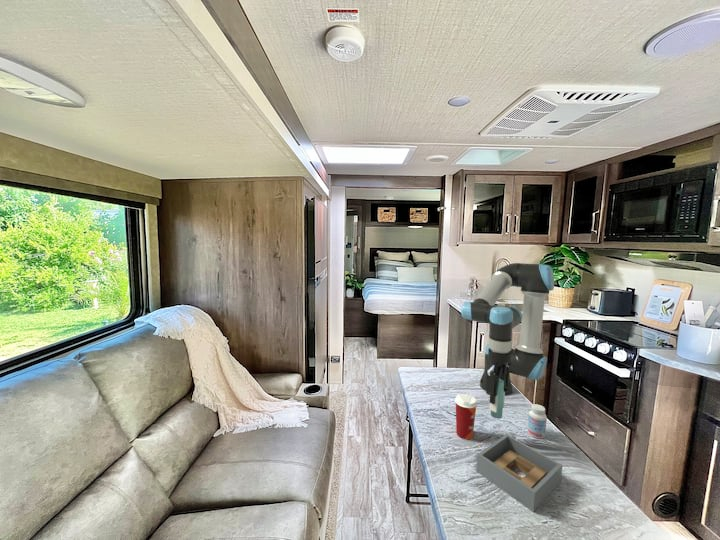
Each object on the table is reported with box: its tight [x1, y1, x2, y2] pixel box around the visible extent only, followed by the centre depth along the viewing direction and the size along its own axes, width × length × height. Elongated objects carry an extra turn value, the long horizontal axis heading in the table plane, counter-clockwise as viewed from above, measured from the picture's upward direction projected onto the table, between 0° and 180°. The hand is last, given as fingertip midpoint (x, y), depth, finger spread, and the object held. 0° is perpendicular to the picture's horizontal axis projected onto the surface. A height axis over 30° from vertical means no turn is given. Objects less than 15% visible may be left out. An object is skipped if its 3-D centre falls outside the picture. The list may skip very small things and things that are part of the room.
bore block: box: [493, 450, 547, 489], centre depth 96 cm, size 12×12×3 cm
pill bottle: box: [527, 403, 548, 440], centre depth 117 cm, size 6×6×11 cm
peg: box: [490, 379, 504, 419], centre depth 112 cm, size 4×4×14 cm
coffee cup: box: [454, 393, 478, 441], centre depth 116 cm, size 8×8×15 cm
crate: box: [476, 433, 563, 513], centre depth 96 cm, size 18×18×6 cm
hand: (496, 408), depth 112 cm, fingers closed on peg, 4 cm apart
